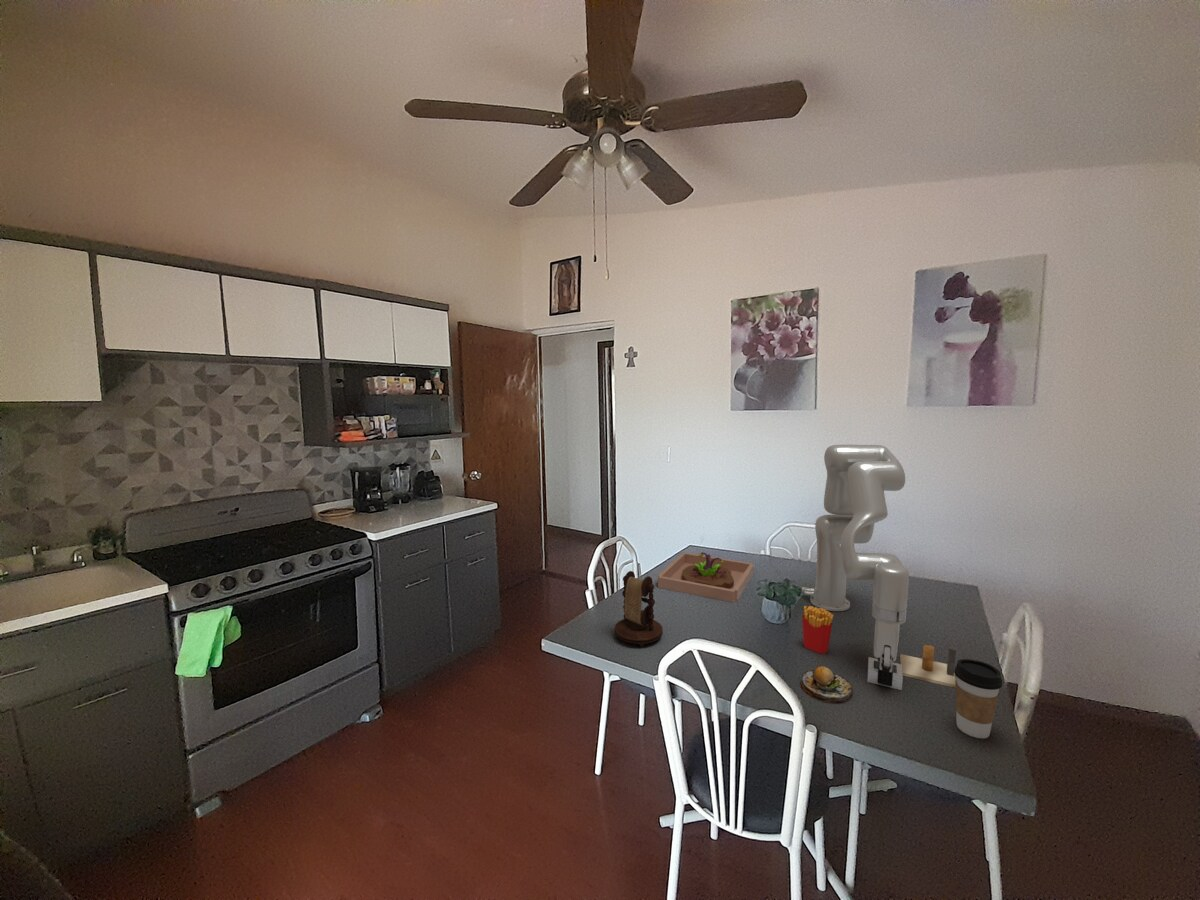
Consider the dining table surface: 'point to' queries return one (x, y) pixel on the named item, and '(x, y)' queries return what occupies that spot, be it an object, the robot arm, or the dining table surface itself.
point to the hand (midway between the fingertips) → (884, 676)
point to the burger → (826, 686)
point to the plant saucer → (673, 581)
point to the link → (873, 673)
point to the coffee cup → (976, 696)
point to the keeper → (930, 667)
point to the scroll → (638, 612)
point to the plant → (708, 573)
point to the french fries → (817, 629)
